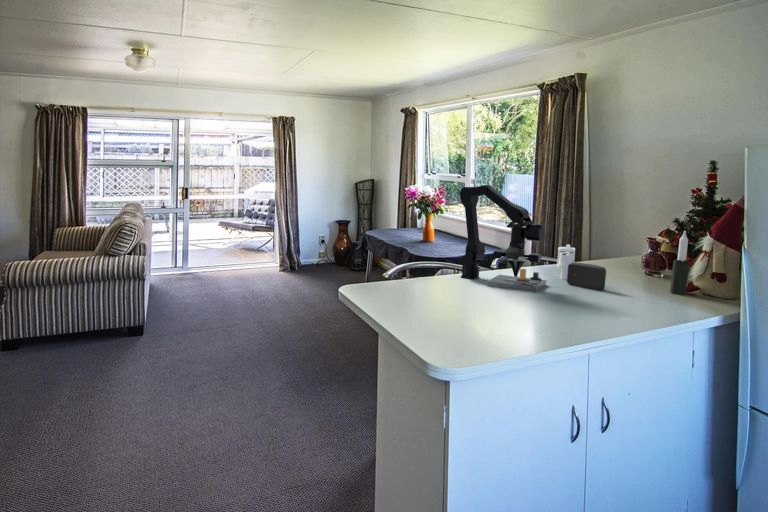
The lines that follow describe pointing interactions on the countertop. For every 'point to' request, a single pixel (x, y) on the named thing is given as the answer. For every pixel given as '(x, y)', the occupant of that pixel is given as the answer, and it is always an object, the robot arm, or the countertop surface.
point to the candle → (680, 268)
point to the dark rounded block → (586, 275)
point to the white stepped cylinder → (565, 259)
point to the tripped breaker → (522, 275)
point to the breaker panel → (518, 283)
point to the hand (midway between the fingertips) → (515, 276)
